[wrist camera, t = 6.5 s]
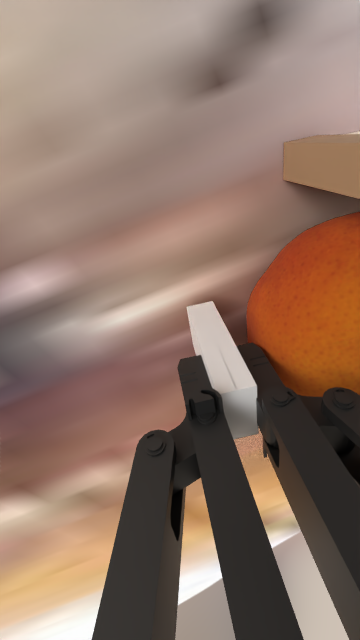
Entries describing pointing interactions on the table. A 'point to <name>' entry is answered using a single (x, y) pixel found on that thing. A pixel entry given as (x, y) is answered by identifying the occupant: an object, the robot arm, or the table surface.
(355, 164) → the frame
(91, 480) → the table surface
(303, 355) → the fruit
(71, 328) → the table surface
